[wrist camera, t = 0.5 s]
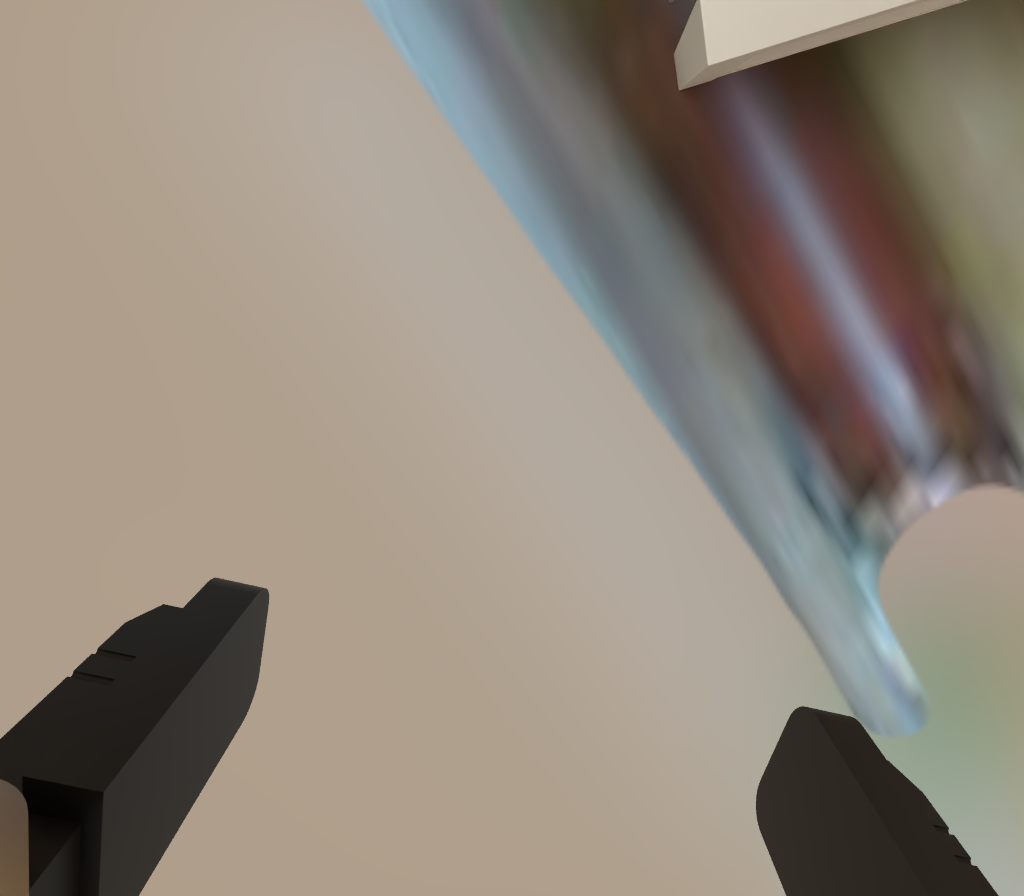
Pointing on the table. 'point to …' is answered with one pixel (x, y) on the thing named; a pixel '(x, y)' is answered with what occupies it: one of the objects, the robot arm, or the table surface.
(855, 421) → the table surface
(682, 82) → the trapdoor stand
